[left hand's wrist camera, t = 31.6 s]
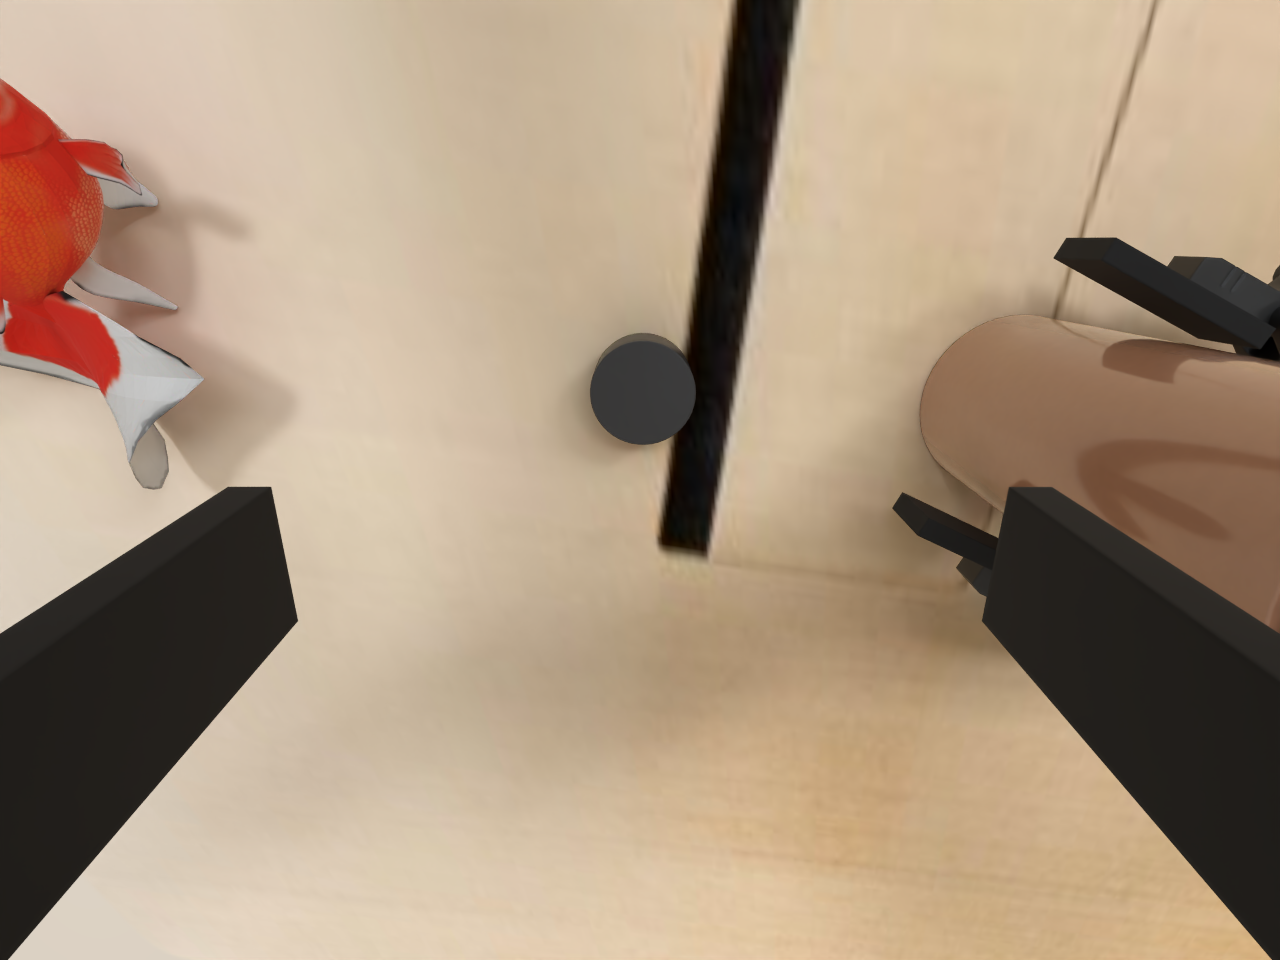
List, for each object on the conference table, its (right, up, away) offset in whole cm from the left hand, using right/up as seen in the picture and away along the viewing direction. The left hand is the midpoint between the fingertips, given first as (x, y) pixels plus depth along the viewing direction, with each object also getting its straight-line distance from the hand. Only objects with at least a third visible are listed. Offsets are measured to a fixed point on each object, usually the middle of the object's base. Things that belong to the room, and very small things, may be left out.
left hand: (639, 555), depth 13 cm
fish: (-21, +9, +17) cm, 29 cm away
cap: (0, +5, +16) cm, 17 cm away
